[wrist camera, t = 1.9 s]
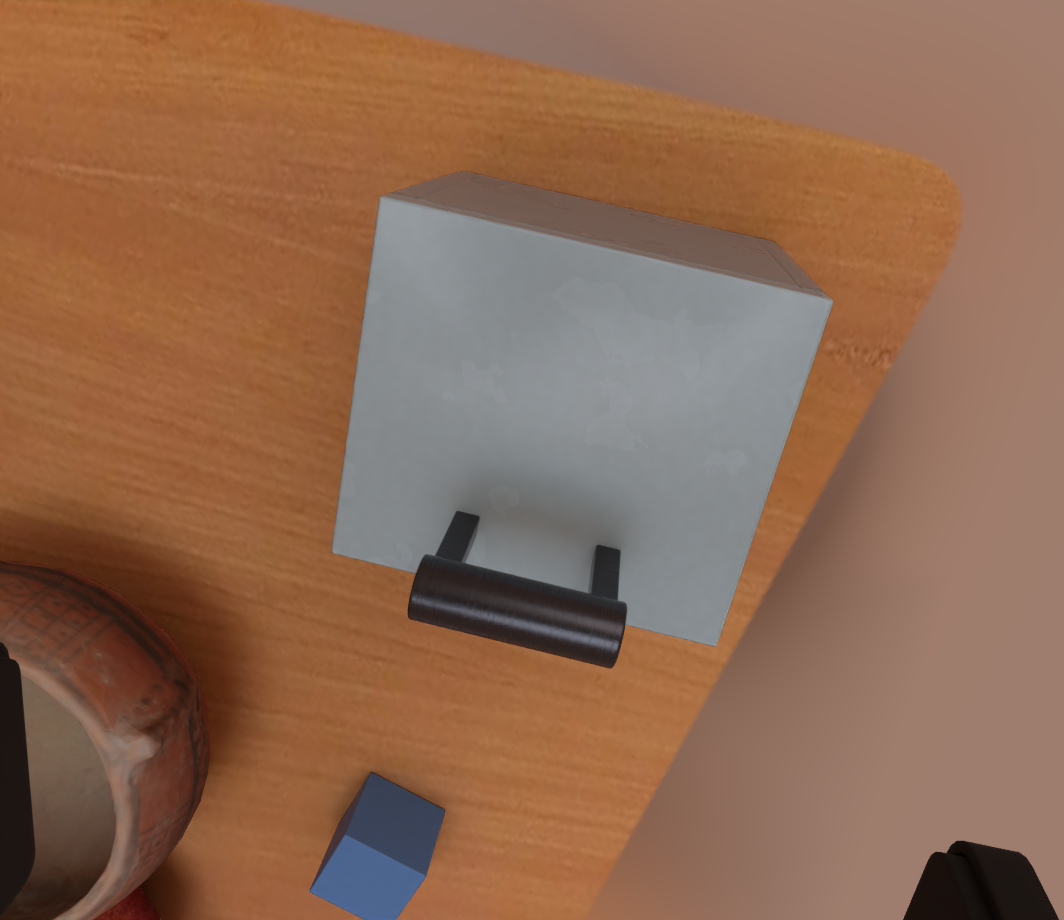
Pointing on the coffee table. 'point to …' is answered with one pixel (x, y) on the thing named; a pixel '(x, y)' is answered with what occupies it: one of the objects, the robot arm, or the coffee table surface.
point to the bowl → (99, 739)
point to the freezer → (613, 226)
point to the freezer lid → (564, 429)
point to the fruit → (132, 908)
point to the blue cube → (379, 851)
